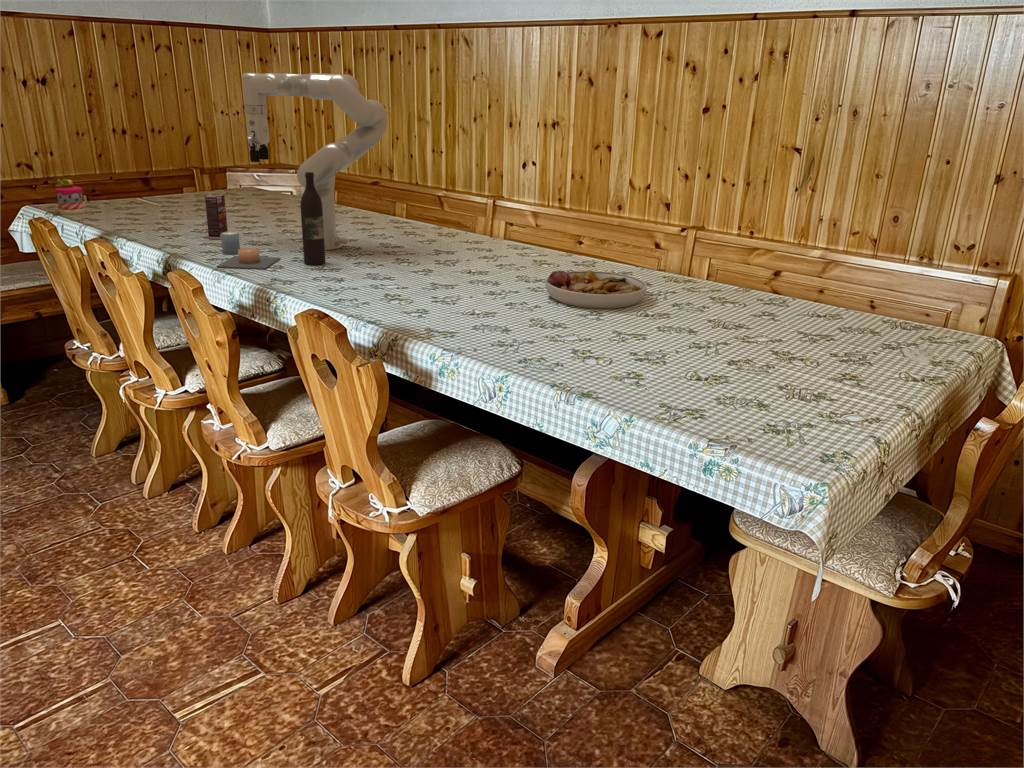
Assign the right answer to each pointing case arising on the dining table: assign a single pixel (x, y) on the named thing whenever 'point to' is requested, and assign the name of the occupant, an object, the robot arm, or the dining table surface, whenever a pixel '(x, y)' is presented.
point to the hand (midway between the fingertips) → (259, 160)
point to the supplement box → (216, 215)
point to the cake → (69, 198)
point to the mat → (263, 264)
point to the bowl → (595, 289)
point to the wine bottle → (312, 224)
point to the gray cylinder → (230, 242)
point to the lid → (248, 255)
